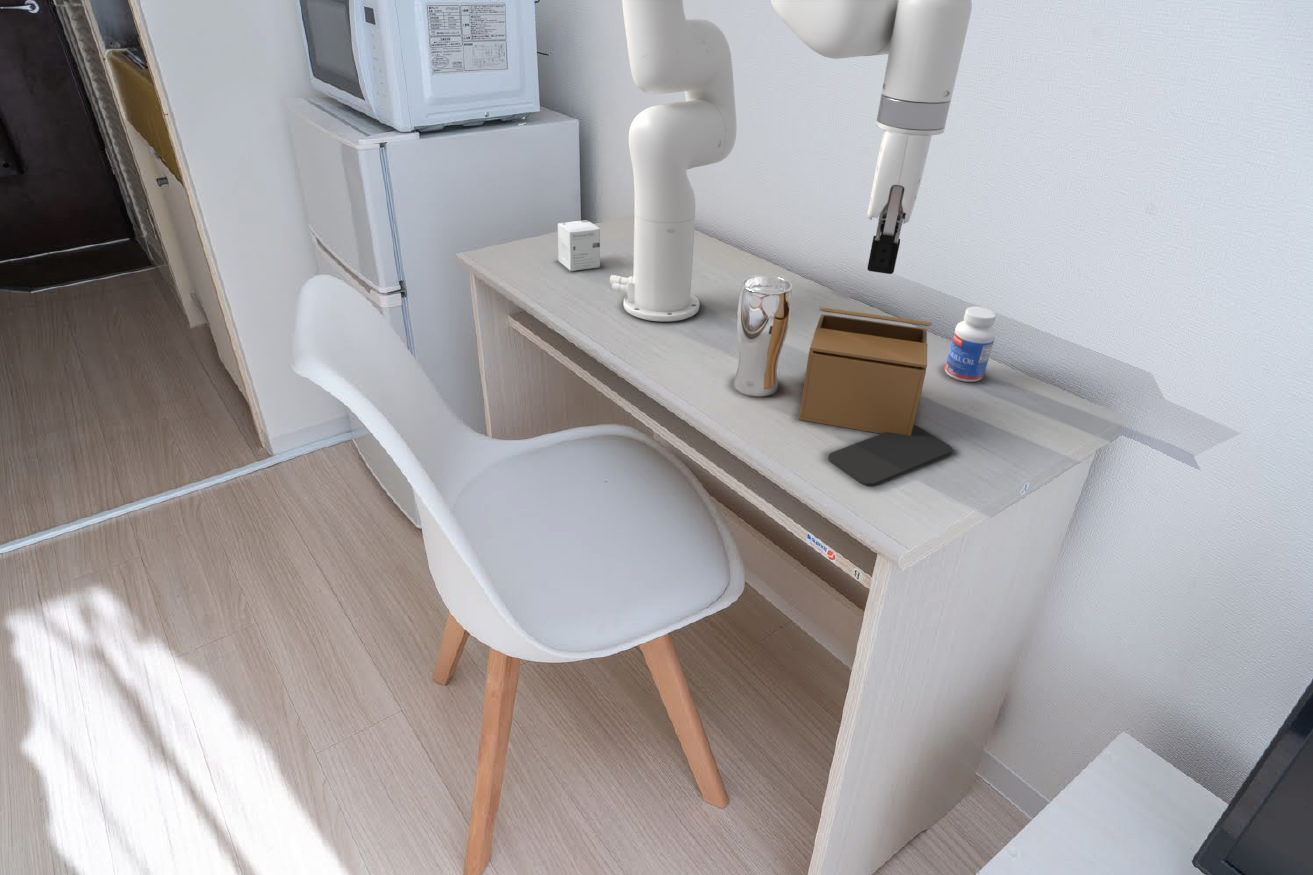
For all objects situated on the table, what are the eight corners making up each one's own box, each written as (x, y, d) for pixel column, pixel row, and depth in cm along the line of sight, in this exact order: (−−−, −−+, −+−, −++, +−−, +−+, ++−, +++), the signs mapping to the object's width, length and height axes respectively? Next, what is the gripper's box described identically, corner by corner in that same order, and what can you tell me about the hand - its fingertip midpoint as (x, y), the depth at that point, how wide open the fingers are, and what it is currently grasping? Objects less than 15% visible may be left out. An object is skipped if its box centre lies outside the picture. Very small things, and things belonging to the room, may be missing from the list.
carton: (811, 375, 114) (821, 308, 109) (912, 391, 111) (928, 323, 106) (798, 419, 104) (809, 347, 98) (910, 438, 100) (927, 365, 95)
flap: (821, 311, 109) (822, 308, 109) (927, 326, 106) (928, 323, 106) (819, 310, 103) (819, 306, 103) (931, 325, 100) (931, 322, 100)
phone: (823, 454, 96) (911, 422, 103) (822, 460, 97) (910, 427, 104) (868, 486, 91) (957, 449, 98) (867, 491, 91) (955, 455, 98)
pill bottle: (936, 372, 116) (952, 309, 111) (957, 362, 119) (973, 301, 114) (970, 386, 113) (987, 323, 108) (990, 376, 116) (1008, 313, 111)
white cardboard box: (570, 272, 146) (569, 232, 142) (558, 261, 150) (556, 222, 146) (600, 267, 148) (600, 228, 144) (587, 257, 153) (587, 218, 149)
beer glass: (778, 401, 107) (792, 296, 100) (727, 395, 109) (736, 290, 101) (782, 378, 113) (795, 277, 105) (733, 372, 114) (742, 271, 106)
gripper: (881, 100, 97) (854, 247, 107) (873, 124, 84) (844, 287, 94) (946, 106, 95) (912, 255, 105) (947, 131, 83) (909, 297, 93)
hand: (880, 270), depth 100 cm, fingers closed
